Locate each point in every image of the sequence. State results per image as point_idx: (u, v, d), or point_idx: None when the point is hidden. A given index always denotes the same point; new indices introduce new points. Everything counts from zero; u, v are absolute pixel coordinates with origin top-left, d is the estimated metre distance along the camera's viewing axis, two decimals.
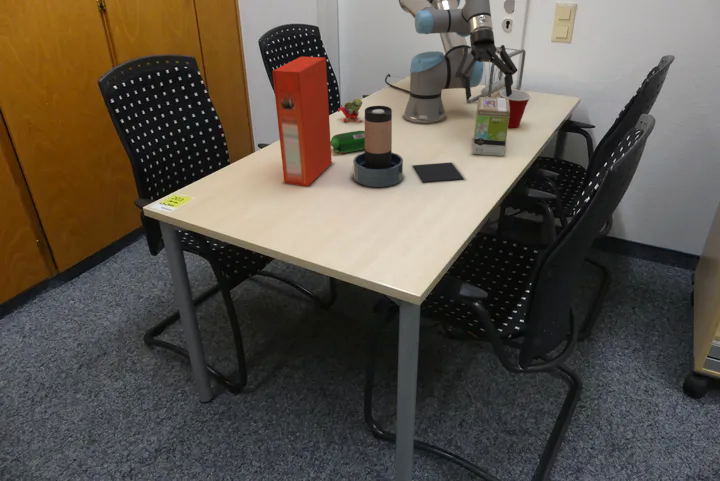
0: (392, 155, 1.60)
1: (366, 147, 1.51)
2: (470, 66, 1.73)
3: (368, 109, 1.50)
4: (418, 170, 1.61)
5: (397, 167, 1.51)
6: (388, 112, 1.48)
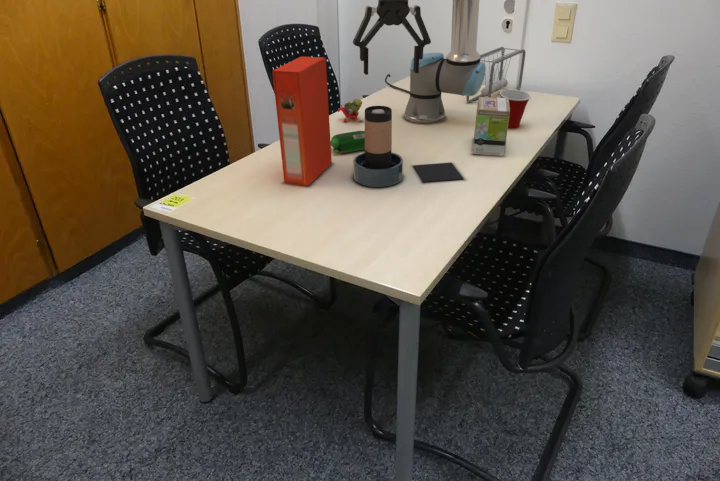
0: (392, 155, 1.60)
1: (366, 147, 1.51)
2: (372, 35, 1.37)
3: (368, 109, 1.50)
4: (418, 170, 1.61)
5: (397, 167, 1.51)
6: (388, 112, 1.48)
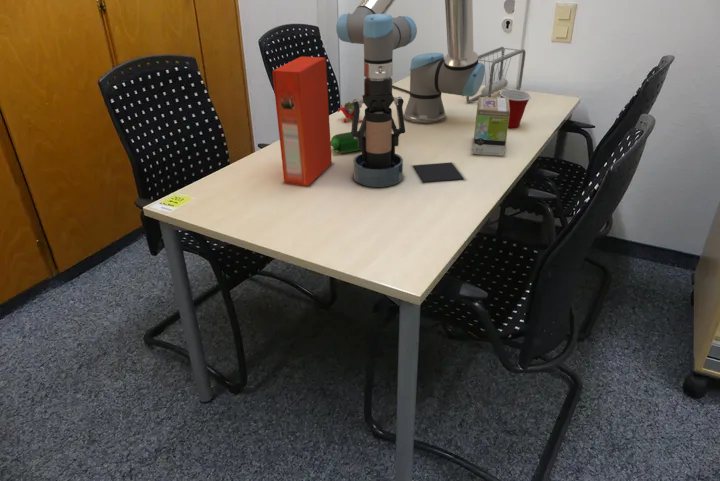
0: None
1: (366, 147, 1.51)
2: (365, 125, 1.48)
3: None
4: (418, 170, 1.61)
5: (397, 167, 1.51)
6: None
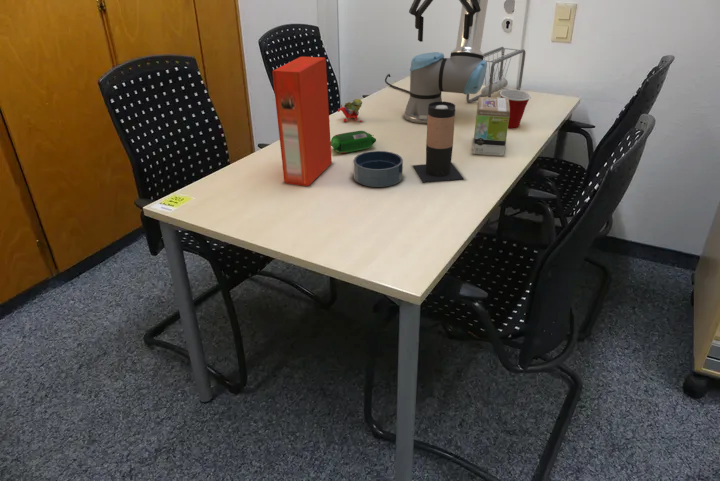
0: (392, 155, 1.60)
1: (428, 142, 1.53)
2: (427, 4, 1.50)
3: (431, 105, 1.52)
4: (418, 170, 1.61)
5: (397, 167, 1.51)
6: (452, 108, 1.50)
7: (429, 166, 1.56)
